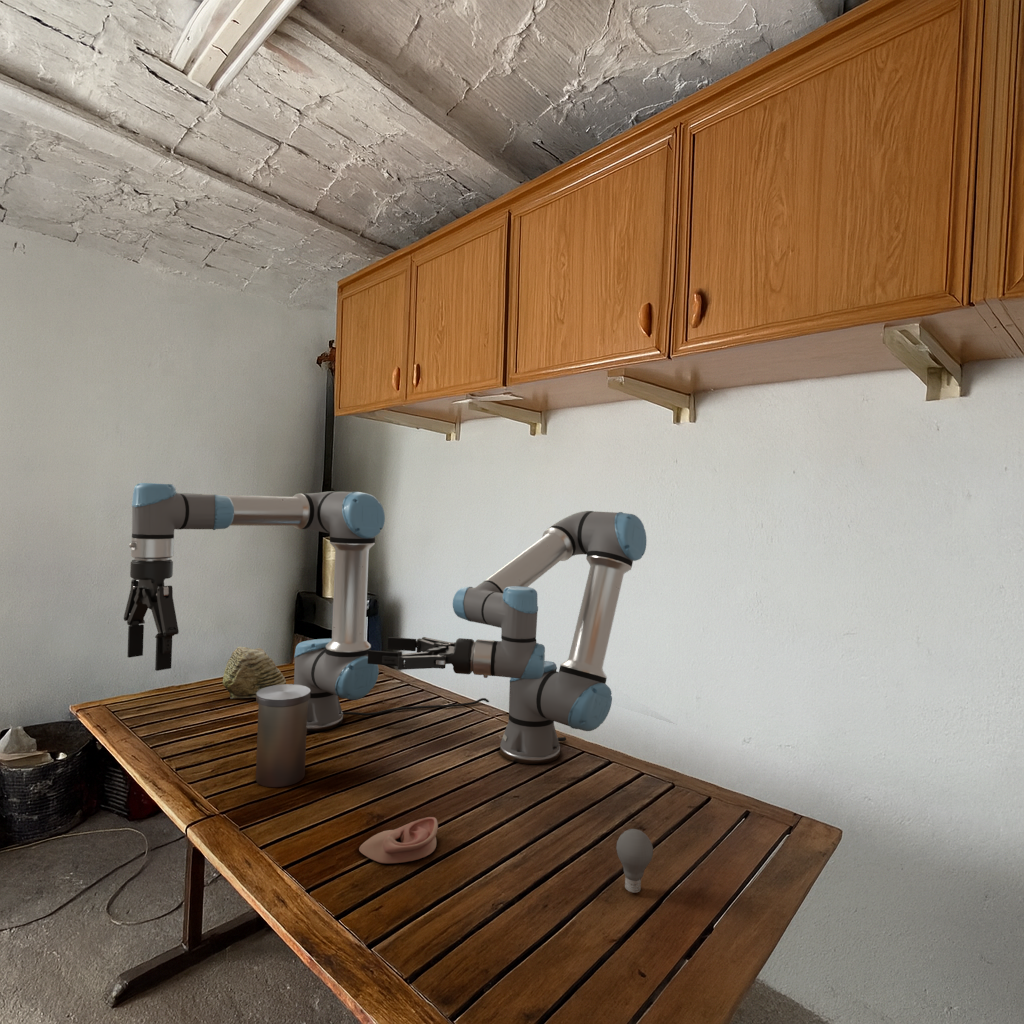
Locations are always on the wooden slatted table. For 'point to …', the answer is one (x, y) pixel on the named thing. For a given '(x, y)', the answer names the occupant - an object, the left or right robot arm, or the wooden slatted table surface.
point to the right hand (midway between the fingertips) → (378, 649)
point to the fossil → (250, 673)
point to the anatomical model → (403, 842)
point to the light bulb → (634, 857)
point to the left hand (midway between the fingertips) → (148, 662)
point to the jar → (281, 745)
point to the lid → (283, 695)
